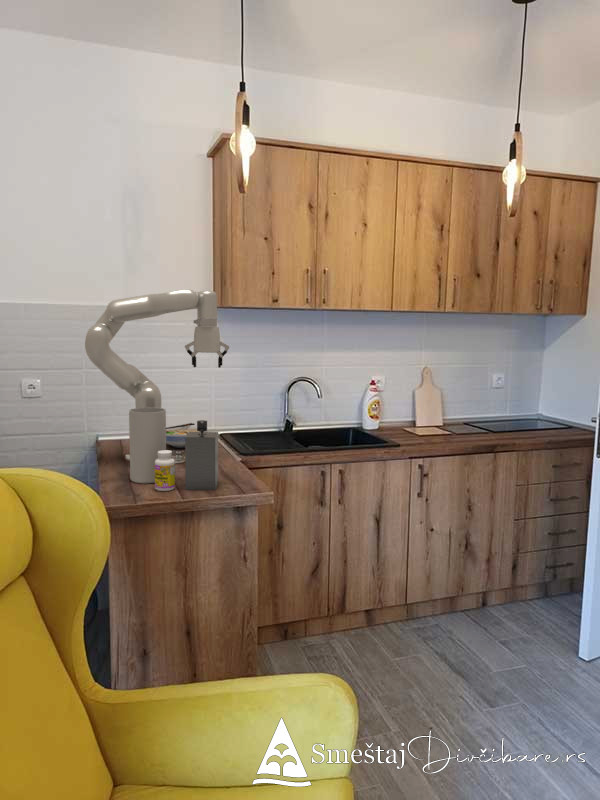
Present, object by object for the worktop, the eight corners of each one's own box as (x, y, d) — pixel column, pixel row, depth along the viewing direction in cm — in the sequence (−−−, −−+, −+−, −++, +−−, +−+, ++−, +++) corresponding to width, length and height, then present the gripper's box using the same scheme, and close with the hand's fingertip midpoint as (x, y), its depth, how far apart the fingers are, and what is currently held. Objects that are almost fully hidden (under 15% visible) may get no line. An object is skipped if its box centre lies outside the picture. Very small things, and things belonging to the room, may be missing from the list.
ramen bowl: (175, 454, 253) (174, 435, 252) (142, 446, 268) (142, 428, 267) (219, 445, 272) (219, 428, 271) (187, 438, 287) (186, 422, 286)
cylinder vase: (134, 474, 219) (133, 407, 216) (169, 475, 220) (168, 407, 217) (126, 484, 207) (125, 412, 204) (162, 484, 208) (162, 413, 204)
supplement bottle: (150, 490, 200) (150, 452, 198) (162, 485, 206) (161, 448, 205) (168, 492, 198) (167, 454, 196) (178, 487, 204) (178, 450, 202)
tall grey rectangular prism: (185, 489, 201) (185, 437, 199) (190, 479, 214) (190, 430, 212) (215, 490, 202) (215, 437, 199) (218, 479, 215) (219, 430, 212)
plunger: (190, 484, 203) (189, 422, 200) (193, 479, 210) (192, 419, 207) (211, 485, 203) (211, 423, 200) (213, 479, 210) (213, 419, 207)
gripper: (183, 322, 229) (183, 367, 231) (228, 323, 229) (228, 368, 232) (186, 322, 236) (186, 366, 238) (230, 323, 237) (230, 366, 239)
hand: (207, 367), depth 235 cm, fingers open, 9 cm apart
